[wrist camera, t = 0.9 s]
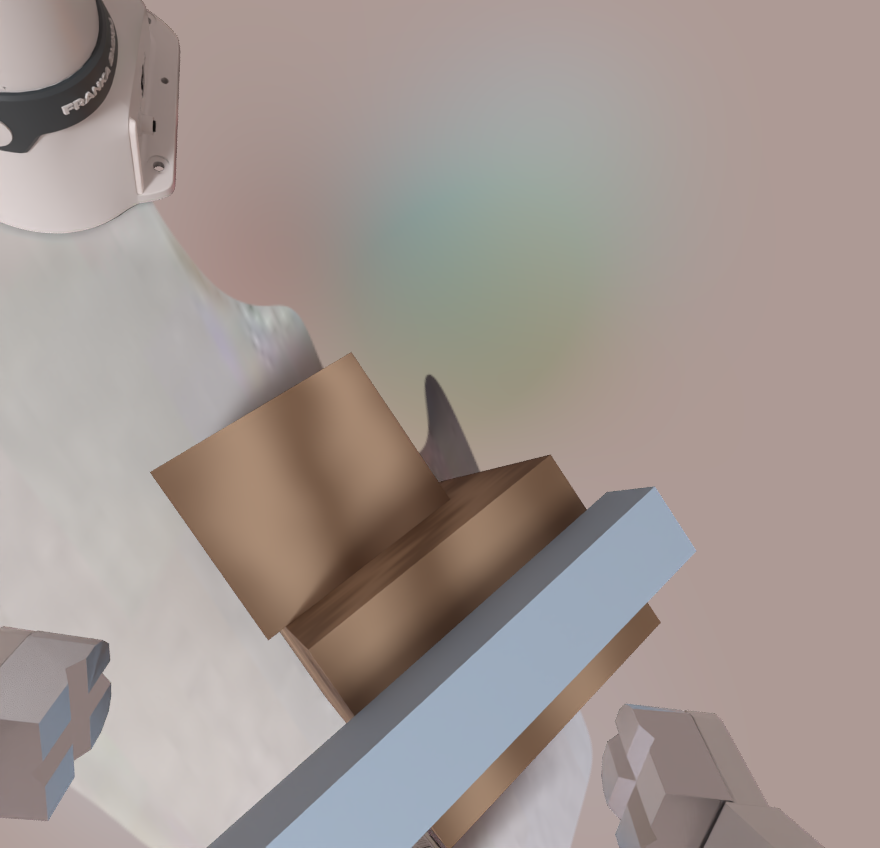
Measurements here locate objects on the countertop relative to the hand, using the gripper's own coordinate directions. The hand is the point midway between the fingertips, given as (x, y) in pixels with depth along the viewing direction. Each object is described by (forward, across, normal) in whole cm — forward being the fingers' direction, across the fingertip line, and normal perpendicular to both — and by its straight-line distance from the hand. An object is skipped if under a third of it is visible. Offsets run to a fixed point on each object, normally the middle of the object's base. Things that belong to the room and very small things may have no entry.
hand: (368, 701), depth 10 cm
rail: (+12, -4, +12) cm, 17 cm away
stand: (+36, +4, +21) cm, 42 cm away
